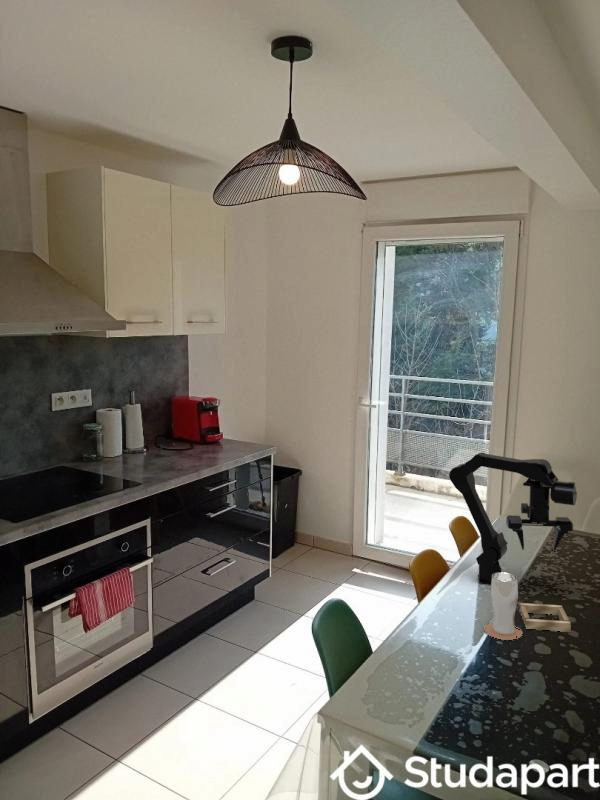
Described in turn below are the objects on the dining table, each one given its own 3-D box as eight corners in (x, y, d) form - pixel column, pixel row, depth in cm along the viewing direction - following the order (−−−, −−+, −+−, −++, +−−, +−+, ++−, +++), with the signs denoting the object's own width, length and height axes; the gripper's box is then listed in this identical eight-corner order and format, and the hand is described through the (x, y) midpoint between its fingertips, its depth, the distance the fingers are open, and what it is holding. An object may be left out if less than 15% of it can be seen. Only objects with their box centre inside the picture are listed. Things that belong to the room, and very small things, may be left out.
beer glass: (487, 633, 170) (488, 579, 168) (493, 622, 176) (493, 570, 174) (515, 638, 167) (515, 583, 165) (519, 627, 173) (520, 574, 171)
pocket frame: (526, 629, 172) (526, 620, 172) (519, 611, 183) (519, 603, 183) (570, 632, 170) (570, 623, 170) (561, 613, 181) (561, 605, 181)
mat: (485, 639, 167) (485, 638, 167) (482, 622, 177) (482, 621, 177) (525, 641, 165) (525, 640, 165) (519, 624, 175) (519, 623, 175)
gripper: (565, 495, 201) (564, 542, 203) (504, 493, 204) (503, 540, 206) (574, 504, 190) (572, 554, 192) (509, 502, 194) (508, 552, 195)
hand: (538, 550), depth 196 cm, fingers open, 9 cm apart
